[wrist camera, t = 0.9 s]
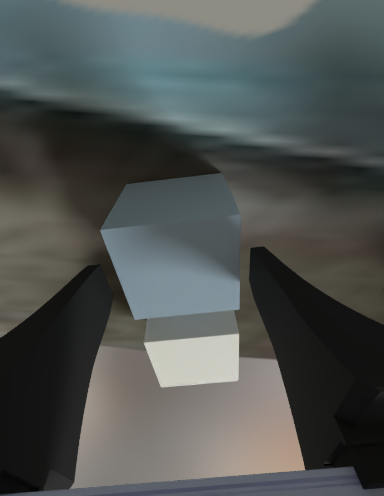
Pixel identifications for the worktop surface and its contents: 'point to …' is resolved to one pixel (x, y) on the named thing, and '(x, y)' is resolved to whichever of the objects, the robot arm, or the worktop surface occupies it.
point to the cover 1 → (176, 246)
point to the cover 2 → (193, 348)
